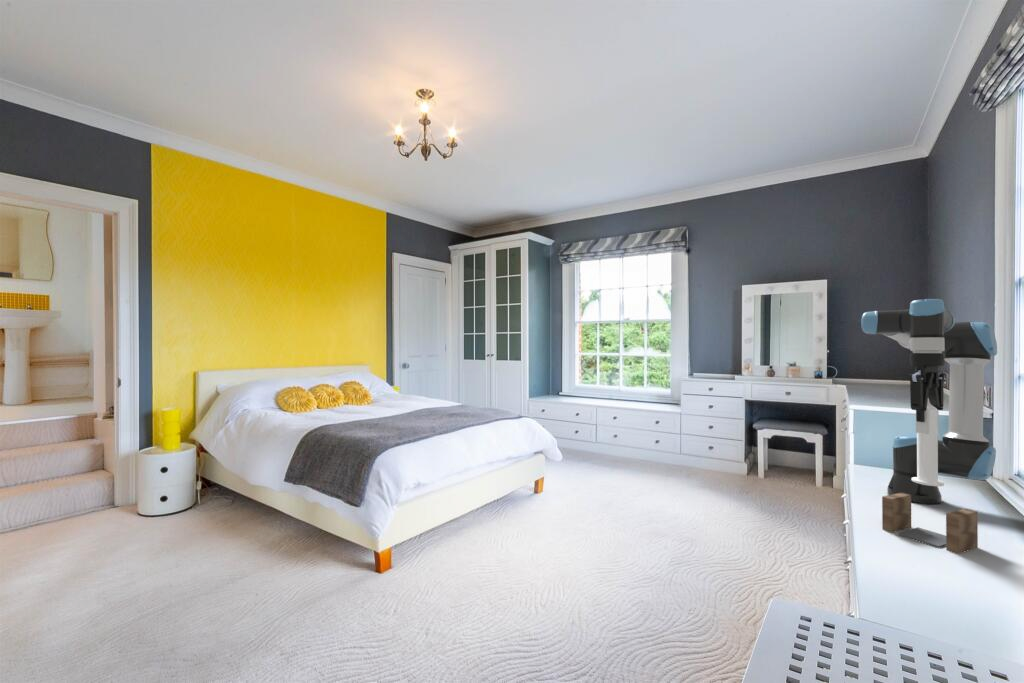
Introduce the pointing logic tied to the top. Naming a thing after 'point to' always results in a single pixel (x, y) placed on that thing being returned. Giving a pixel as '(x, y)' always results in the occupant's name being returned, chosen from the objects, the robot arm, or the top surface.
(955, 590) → the top surface
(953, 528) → the bookend
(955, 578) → the top surface
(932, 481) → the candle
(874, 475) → the top surface
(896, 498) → the bookend
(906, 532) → the felt pad
